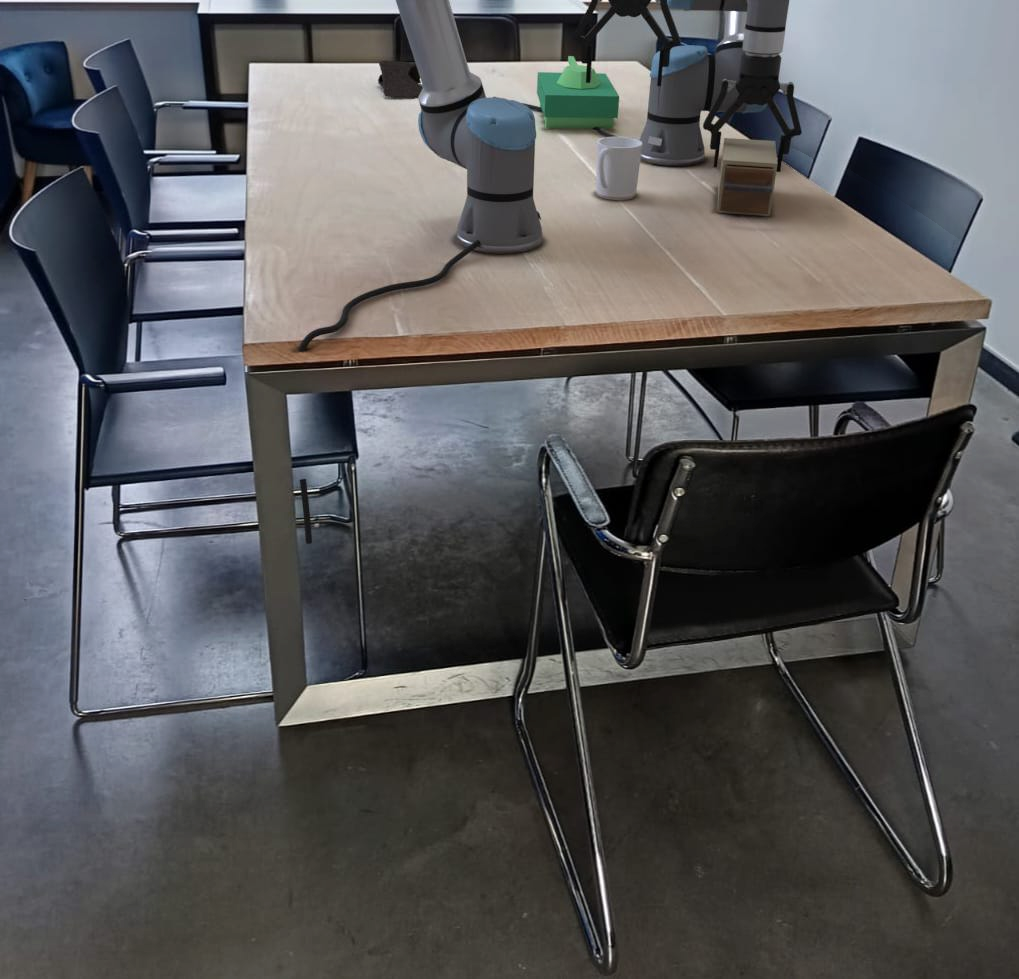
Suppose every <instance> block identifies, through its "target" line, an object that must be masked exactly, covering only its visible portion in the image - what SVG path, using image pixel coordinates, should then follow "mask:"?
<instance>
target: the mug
mask: <svg viewBox="0 0 1019 979" xmlns="http://www.w3.org/2000/svg"><path fill="white" fill-rule="evenodd" d="M641 151H642V142H641V141H640V139H638V138H633V137H629V136H628V137H627V136H618V137H606V136H604V137H600V138H598V139H597V140H596V181H595V182H596V183H595V192H596V195H597V196H598V197H600V198H603V199H606V200H611V201H613V200H614V201H624V200H630V199H633V198H635V197H636V196H637V190H638V189H637V188H638V182H639V174H640V165H641V160H640V159H641Z"/></svg>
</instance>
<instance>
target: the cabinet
mask: <svg viewBox="0 0 1019 979" xmlns="http://www.w3.org/2000/svg"><path fill="white" fill-rule="evenodd" d="M777 159H778V153H777V145H776V141H775V140H765V139H762V140H761V139H750V138H749V139H748V138H733V137H732V138H731V137H730V138H729V137H724V138H723V145H722V153H721V161H720V170H719V178H718V187H717V203H716V213H718V214H719V213H720V214H732V215H746V216H761V217H770V216H771V211H772V203H773V199H774V198H773V197H774V192H775V190H774V189H775V183H776V177H777V172H776V171H777V164H778V163H777ZM728 165H742V166H757V167H769V169H774V173H773V180H772V193H771V194H770V201H769V207H768V214H759V213H745V212H731V211H720V208H721V199H722V191H723V183H724V175H725V167H726V166H728Z"/></svg>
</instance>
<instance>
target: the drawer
mask: <svg viewBox="0 0 1019 979" xmlns="http://www.w3.org/2000/svg"><path fill="white" fill-rule="evenodd" d="M773 173H774V169H769V167H757V166H742V165H728V166H726V167H725V175H724V183H723V191H722V199H721V208H720V211H731V212H745V213H759V214H768V207H769V201H770V194H771V193H772V180H773Z"/></svg>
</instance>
